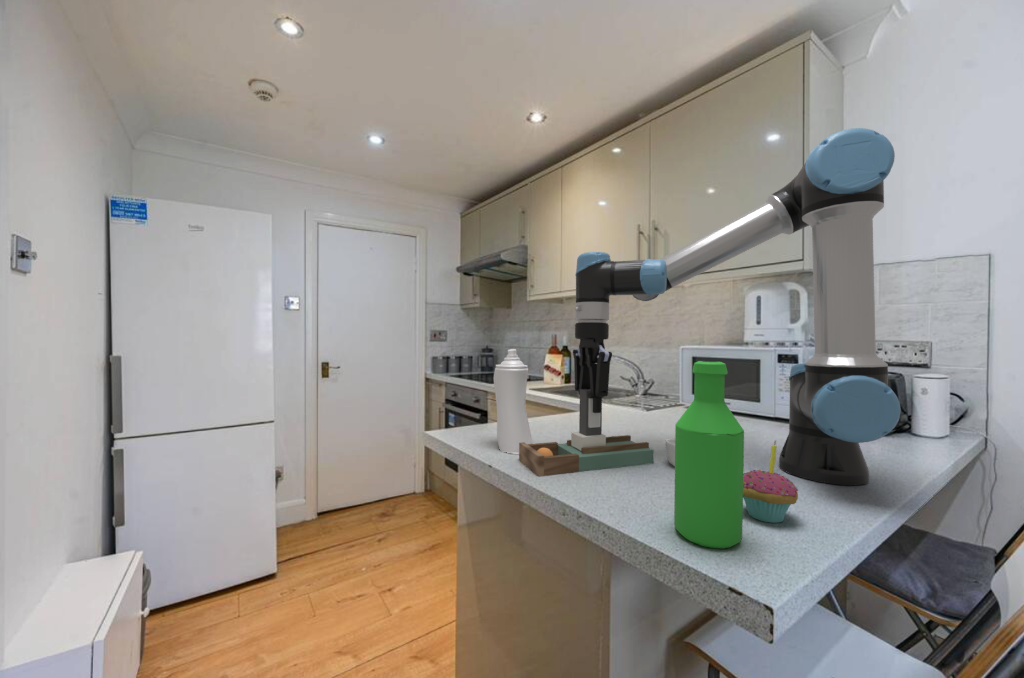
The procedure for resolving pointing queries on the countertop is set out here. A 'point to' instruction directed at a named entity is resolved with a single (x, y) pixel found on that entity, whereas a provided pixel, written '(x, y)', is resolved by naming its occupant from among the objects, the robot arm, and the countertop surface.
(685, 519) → the bottle
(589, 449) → the rails
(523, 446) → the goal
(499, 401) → the spray can
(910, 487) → the countertop surface
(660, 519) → the countertop surface
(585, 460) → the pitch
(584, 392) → the block
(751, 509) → the cupcake
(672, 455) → the teacup
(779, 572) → the countertop surface
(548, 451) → the ball
